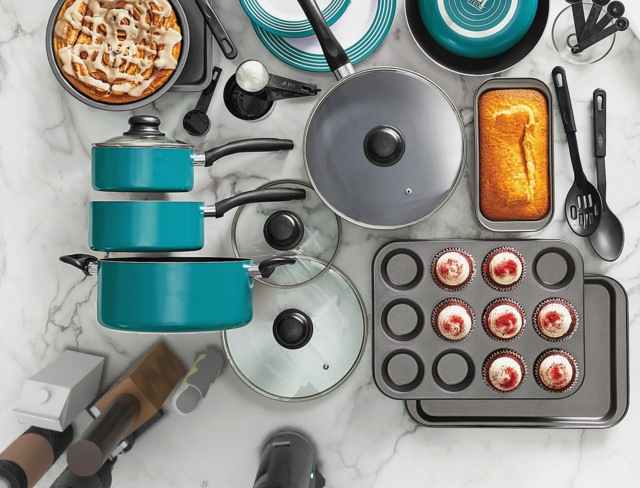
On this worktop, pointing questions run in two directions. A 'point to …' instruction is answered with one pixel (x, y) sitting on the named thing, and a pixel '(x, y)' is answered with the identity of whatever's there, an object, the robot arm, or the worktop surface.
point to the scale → (139, 430)
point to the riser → (147, 383)
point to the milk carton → (60, 391)
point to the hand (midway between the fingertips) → (117, 440)
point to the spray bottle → (197, 383)
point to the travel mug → (32, 456)
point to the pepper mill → (103, 435)
